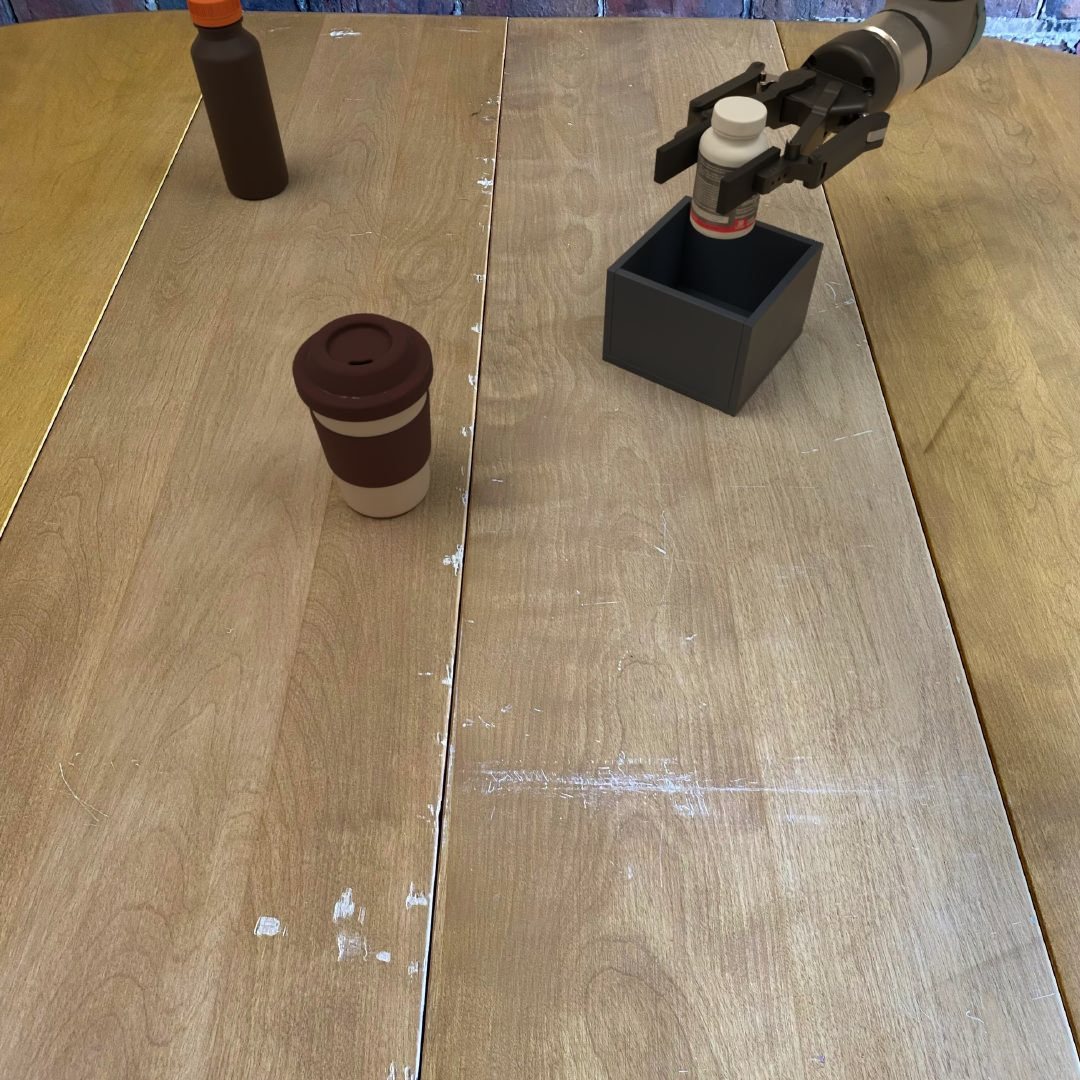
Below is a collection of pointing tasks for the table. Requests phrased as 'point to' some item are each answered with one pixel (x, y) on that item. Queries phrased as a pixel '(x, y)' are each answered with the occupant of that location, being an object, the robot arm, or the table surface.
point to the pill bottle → (727, 165)
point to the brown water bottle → (237, 99)
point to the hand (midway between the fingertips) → (690, 181)
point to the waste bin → (708, 307)
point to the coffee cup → (370, 409)
